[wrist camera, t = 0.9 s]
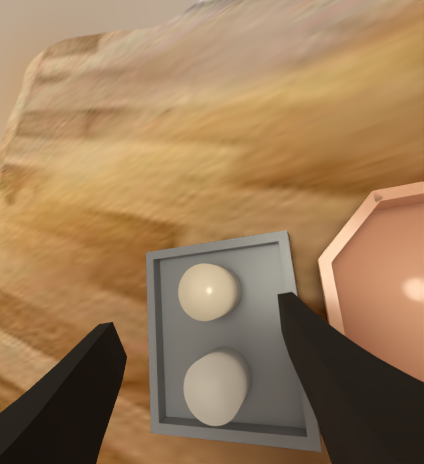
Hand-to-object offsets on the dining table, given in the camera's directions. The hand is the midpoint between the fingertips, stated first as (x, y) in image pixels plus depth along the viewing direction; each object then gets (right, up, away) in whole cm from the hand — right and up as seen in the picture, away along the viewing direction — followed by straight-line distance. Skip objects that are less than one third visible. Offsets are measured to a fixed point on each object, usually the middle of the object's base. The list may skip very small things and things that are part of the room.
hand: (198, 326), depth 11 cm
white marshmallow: (+2, -8, +11) cm, 14 cm away
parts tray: (+2, -5, +12) cm, 13 cm away
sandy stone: (+1, -1, +12) cm, 12 cm away
